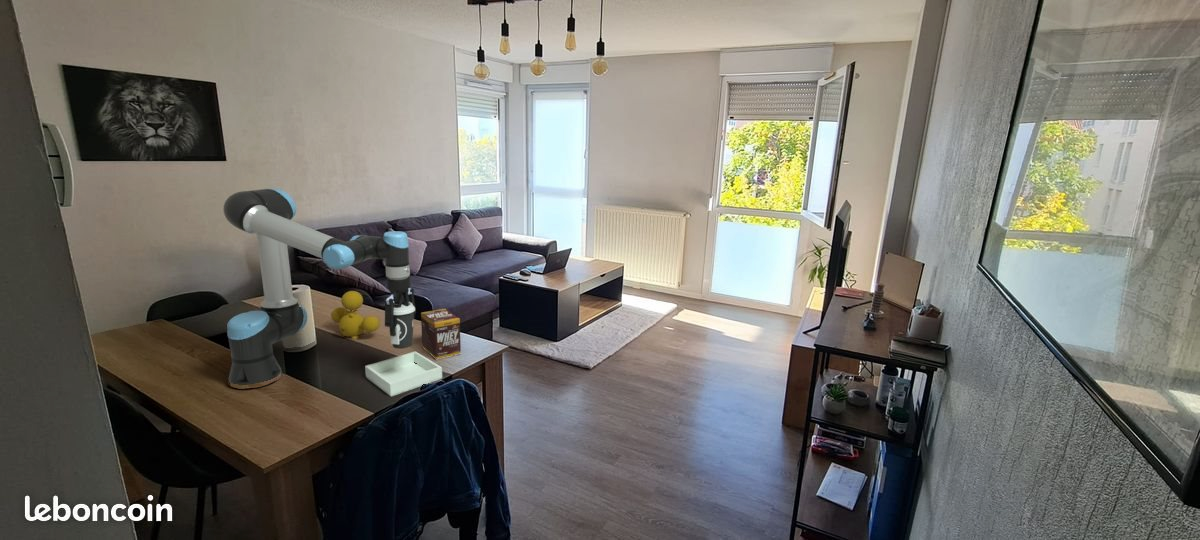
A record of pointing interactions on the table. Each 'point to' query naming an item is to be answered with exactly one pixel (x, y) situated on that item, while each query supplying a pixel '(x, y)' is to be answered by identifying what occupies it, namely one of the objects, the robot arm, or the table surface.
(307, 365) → the table surface
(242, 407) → the table surface
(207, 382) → the table surface
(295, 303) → the robot arm
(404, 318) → the coffee cup
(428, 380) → the bin
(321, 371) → the table surface
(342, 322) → the toy
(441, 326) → the supplement box
